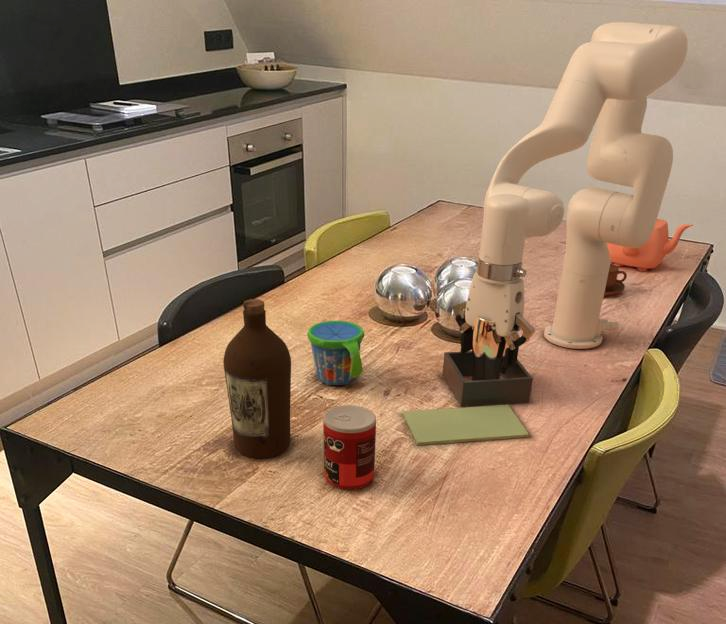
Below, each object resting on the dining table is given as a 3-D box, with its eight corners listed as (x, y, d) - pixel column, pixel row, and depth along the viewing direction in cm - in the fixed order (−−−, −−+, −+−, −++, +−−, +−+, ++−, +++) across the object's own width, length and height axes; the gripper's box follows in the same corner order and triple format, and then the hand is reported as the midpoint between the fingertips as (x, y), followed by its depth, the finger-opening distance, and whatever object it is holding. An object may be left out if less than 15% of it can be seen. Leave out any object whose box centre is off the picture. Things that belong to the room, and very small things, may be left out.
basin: (506, 371, 154) (509, 348, 151) (529, 402, 143) (533, 378, 141) (442, 375, 152) (444, 352, 149) (460, 407, 141) (463, 382, 138)
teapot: (681, 273, 208) (695, 221, 200) (620, 276, 204) (632, 224, 196) (646, 252, 222) (658, 203, 215) (589, 255, 219) (598, 206, 211)
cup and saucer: (605, 281, 201) (610, 257, 198) (632, 296, 192) (638, 272, 188) (566, 285, 198) (570, 261, 194) (591, 301, 188) (596, 276, 185)
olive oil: (249, 423, 134) (239, 286, 120) (304, 436, 131) (300, 296, 117) (219, 453, 126) (204, 309, 112) (276, 466, 123) (268, 320, 109)
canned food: (322, 464, 124) (322, 405, 118) (371, 463, 124) (373, 404, 118) (325, 491, 118) (324, 430, 111) (376, 490, 118) (378, 428, 112)
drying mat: (507, 407, 142) (508, 404, 141) (528, 437, 133) (529, 434, 132) (403, 414, 138) (403, 411, 138) (416, 445, 130) (417, 442, 129)
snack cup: (296, 367, 154) (294, 319, 148) (343, 358, 158) (343, 312, 152) (327, 400, 142) (327, 350, 136) (377, 390, 146) (379, 341, 140)
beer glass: (501, 398, 144) (511, 323, 136) (465, 394, 145) (472, 320, 137) (503, 382, 150) (513, 309, 142) (468, 378, 151) (475, 306, 143)
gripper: (552, 276, 132) (537, 366, 142) (471, 254, 142) (461, 340, 151) (529, 286, 127) (515, 379, 137) (447, 262, 137) (438, 351, 146)
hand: (487, 358), depth 144 cm, fingers open, 9 cm apart
